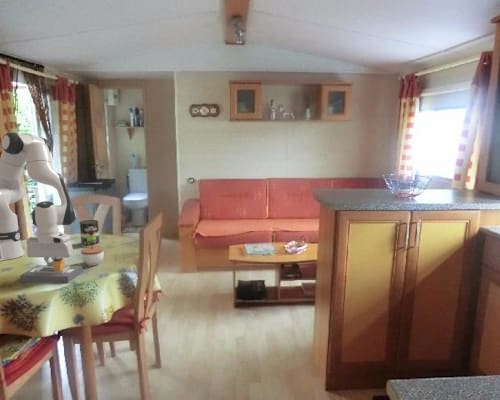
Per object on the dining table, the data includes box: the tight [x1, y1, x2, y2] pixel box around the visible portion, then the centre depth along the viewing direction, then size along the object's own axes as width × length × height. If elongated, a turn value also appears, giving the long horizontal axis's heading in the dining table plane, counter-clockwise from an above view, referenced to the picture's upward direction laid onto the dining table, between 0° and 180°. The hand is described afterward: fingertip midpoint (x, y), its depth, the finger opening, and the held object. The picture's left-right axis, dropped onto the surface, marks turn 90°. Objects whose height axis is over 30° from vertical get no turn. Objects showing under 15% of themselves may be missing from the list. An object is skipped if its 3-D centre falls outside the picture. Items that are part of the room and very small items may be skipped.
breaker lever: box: [52, 258, 66, 272], centre depth 170 cm, size 3×4×5 cm
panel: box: [19, 264, 84, 284], centre depth 171 cm, size 22×13×4 cm, turn 87°
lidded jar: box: [80, 245, 105, 267], centre depth 187 cm, size 11×11×9 cm
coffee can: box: [79, 219, 101, 248], centre depth 219 cm, size 10×10×14 cm
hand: (51, 266), depth 170 cm, fingers closed
